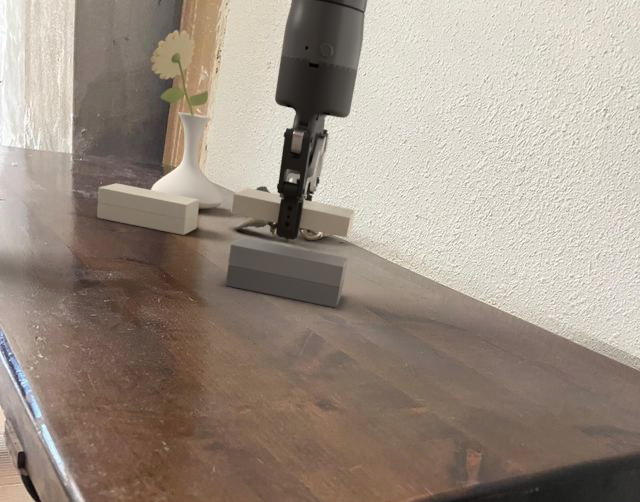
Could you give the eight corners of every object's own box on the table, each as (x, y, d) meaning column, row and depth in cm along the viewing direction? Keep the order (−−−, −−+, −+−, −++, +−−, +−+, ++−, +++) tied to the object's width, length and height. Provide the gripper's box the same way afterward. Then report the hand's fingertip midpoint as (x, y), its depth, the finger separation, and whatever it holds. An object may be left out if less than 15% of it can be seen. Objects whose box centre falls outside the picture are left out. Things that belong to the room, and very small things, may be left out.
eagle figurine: (305, 230, 112) (253, 206, 113) (309, 193, 106) (254, 168, 107) (280, 262, 108) (227, 236, 110) (282, 225, 102) (226, 199, 103)
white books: (96, 217, 100) (98, 187, 98) (114, 212, 105) (116, 183, 104) (183, 235, 99) (186, 204, 98) (196, 228, 105) (199, 199, 103)
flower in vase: (201, 201, 128) (217, 39, 117) (234, 215, 120) (254, 43, 109) (128, 195, 120) (139, 22, 110) (158, 211, 112) (173, 25, 102)
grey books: (225, 285, 79) (230, 244, 77) (236, 276, 84) (241, 236, 82) (336, 307, 79) (343, 266, 77) (340, 297, 83) (347, 258, 81)
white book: (231, 213, 76) (233, 193, 75) (244, 206, 81) (246, 187, 80) (346, 237, 75) (350, 217, 74) (351, 228, 81) (355, 210, 80)
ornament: (299, 229, 118) (303, 206, 117) (339, 239, 117) (344, 215, 115) (280, 234, 111) (284, 210, 110) (323, 245, 110) (327, 220, 108)
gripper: (293, 56, 79) (269, 217, 85) (268, 45, 65) (242, 236, 72) (363, 70, 78) (333, 230, 85) (352, 62, 65) (317, 251, 72)
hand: (291, 232), depth 79 cm, fingers closed on white book, 6 cm apart
